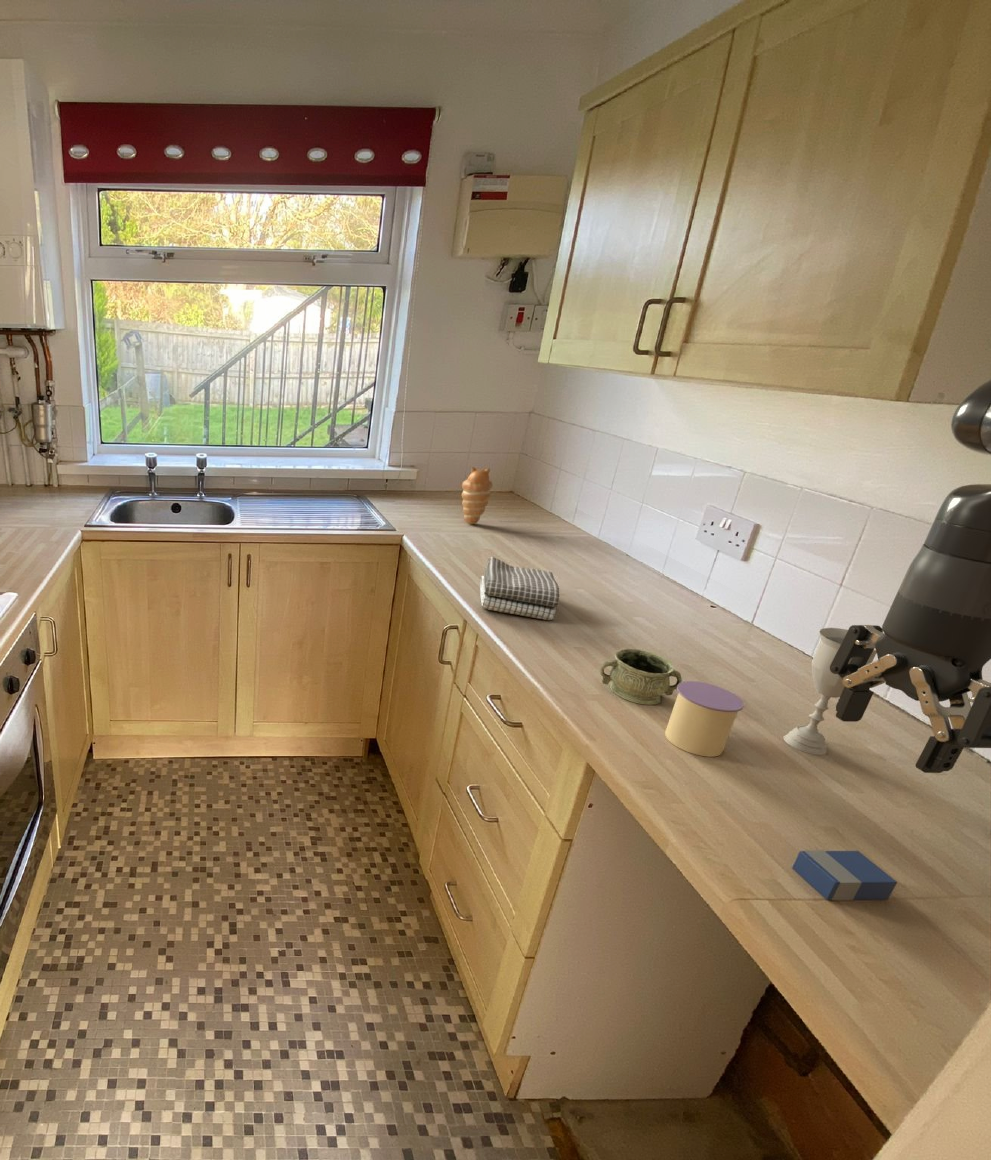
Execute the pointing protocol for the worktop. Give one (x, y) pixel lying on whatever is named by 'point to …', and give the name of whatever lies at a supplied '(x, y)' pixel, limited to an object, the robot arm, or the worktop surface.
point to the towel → (519, 590)
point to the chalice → (821, 692)
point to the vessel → (640, 676)
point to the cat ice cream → (476, 494)
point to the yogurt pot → (702, 718)
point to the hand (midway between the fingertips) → (885, 743)
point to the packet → (844, 875)
